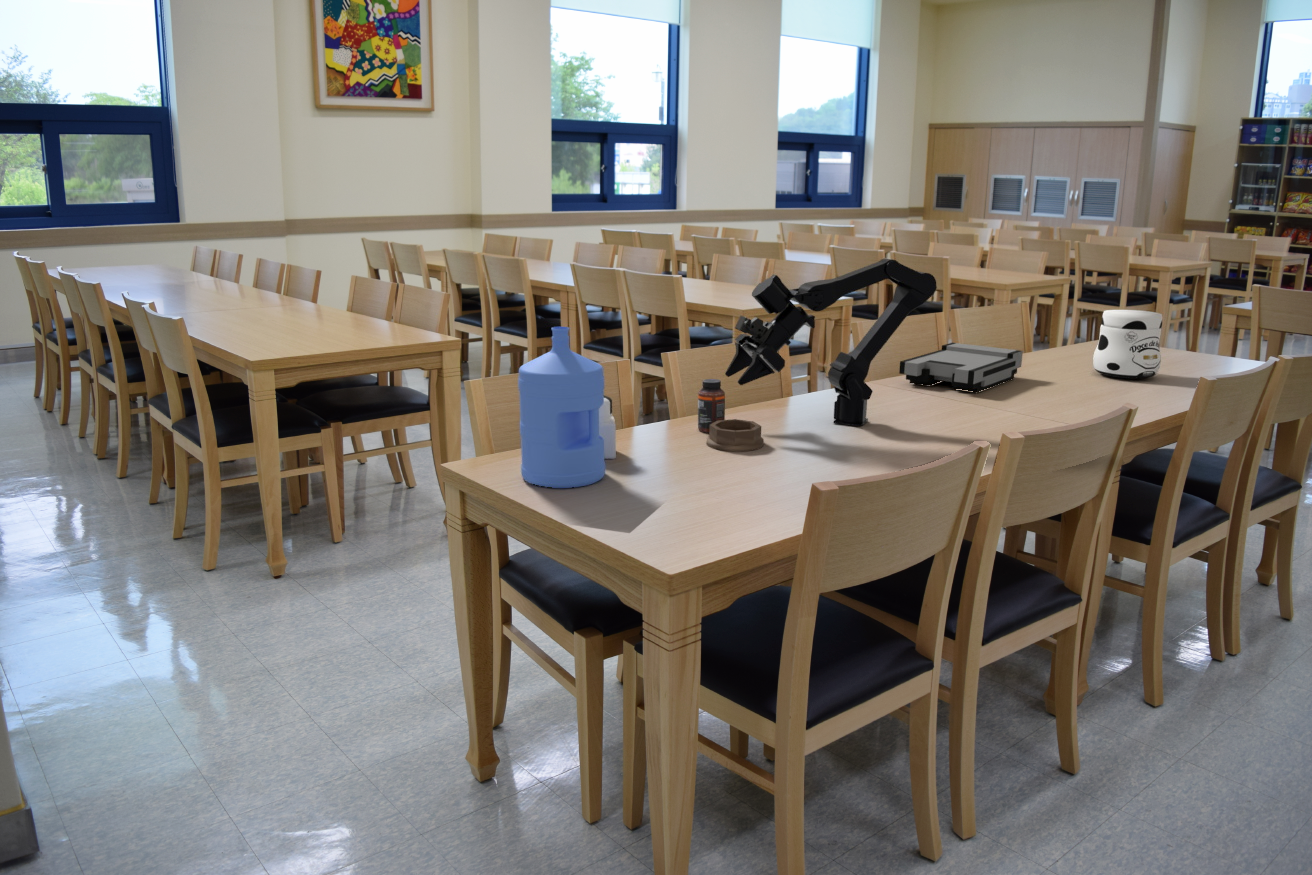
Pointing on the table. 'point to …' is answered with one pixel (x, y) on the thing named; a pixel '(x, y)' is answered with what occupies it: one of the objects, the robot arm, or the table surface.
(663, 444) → the table surface
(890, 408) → the table surface
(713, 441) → the ring
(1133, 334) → the cow print jar
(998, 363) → the game console
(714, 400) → the supplement bottle
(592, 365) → the water jug
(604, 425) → the medicine bottle
